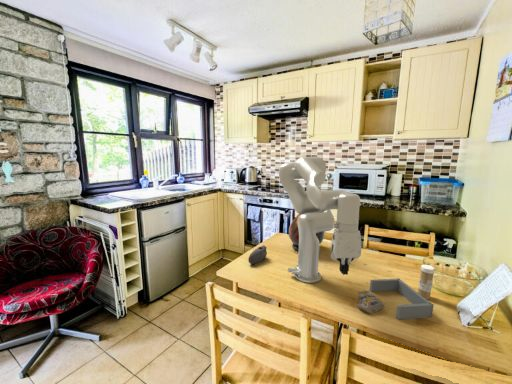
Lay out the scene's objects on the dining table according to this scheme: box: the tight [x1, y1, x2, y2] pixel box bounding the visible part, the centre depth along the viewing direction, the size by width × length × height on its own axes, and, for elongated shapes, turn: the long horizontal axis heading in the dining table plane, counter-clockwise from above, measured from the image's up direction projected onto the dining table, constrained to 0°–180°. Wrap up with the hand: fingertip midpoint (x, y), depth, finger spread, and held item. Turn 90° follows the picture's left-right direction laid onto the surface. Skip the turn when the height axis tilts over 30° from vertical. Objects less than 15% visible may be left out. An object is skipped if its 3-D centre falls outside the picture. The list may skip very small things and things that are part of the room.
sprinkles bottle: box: [417, 264, 436, 300], centre depth 100 cm, size 5×5×14 cm
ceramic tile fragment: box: [357, 290, 386, 314], centre depth 95 cm, size 12×3×10 cm
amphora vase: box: [288, 208, 325, 253], centre depth 147 cm, size 22×22×28 cm
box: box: [369, 278, 435, 320], centre depth 96 cm, size 13×18×5 cm
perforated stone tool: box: [248, 245, 268, 265], centre depth 131 cm, size 15×5×7 cm, turn 141°
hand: (343, 272), depth 91 cm, fingers closed
